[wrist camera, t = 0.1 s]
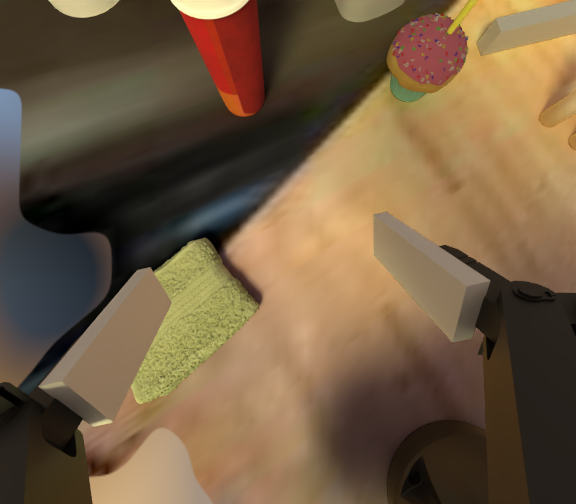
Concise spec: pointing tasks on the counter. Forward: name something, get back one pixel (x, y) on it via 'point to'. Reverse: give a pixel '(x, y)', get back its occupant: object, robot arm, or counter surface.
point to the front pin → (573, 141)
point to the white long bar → (529, 27)
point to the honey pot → (83, 7)
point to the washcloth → (192, 318)
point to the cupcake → (427, 54)
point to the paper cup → (229, 49)
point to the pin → (559, 111)
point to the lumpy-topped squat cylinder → (365, 8)
